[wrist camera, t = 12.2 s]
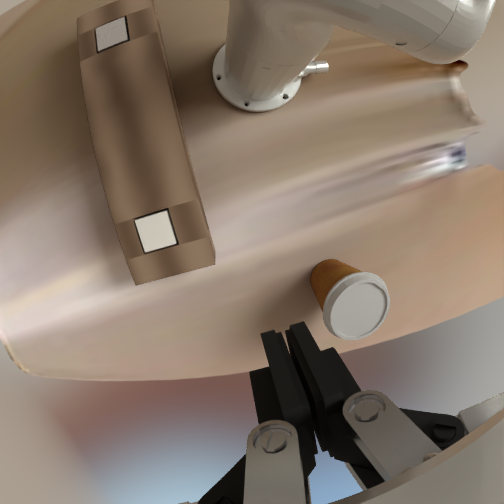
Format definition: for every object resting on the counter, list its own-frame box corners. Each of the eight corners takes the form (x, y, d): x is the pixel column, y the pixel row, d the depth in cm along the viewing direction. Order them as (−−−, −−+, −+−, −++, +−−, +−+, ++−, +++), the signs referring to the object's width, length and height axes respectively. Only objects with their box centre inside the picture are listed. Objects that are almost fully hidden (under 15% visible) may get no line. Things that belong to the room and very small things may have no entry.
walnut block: (156, 8, 30) (149, -11, 25) (215, 251, 42) (215, 264, 36) (91, 32, 30) (76, 18, 24) (145, 270, 42) (135, 285, 36)
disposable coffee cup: (293, 300, 46) (316, 341, 34) (310, 243, 44) (341, 270, 32) (344, 307, 48) (377, 344, 36) (362, 255, 45) (402, 281, 34)
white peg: (172, 205, 39) (166, 210, 34) (181, 233, 40) (176, 243, 35) (145, 213, 39) (134, 220, 34) (153, 241, 40) (145, 252, 35)
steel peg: (133, 32, 31) (124, 16, 25) (137, 53, 32) (127, 39, 27) (108, 42, 30) (95, 28, 25) (111, 63, 32) (98, 51, 26)
